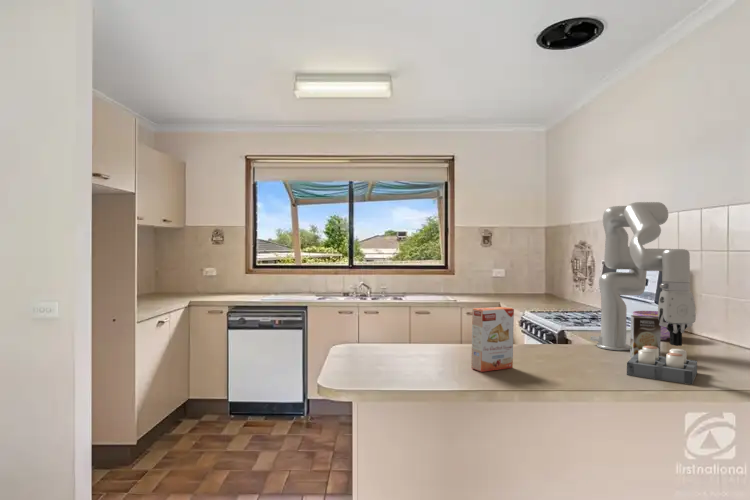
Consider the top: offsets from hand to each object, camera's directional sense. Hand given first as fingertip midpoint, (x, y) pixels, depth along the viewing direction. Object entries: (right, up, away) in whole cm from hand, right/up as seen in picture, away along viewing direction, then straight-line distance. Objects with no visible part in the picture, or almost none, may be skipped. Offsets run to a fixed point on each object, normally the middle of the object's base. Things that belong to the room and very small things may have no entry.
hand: (675, 344), depth 154 cm
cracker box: (-56, -11, +12) cm, 58 cm away
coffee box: (+5, -11, +27) cm, 29 cm away
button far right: (+5, -8, +7) cm, 12 cm away
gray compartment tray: (-1, -11, +6) cm, 12 cm away
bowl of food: (+35, -11, +71) cm, 80 cm away
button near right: (0, -8, 0) cm, 8 cm away
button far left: (-1, -8, +12) cm, 14 cm away
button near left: (-6, -8, +5) cm, 12 cm away
